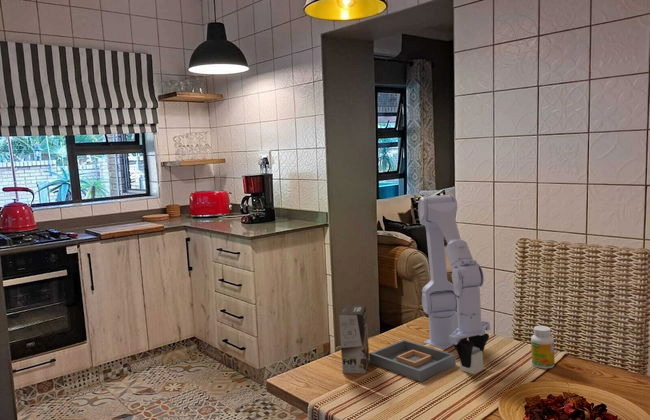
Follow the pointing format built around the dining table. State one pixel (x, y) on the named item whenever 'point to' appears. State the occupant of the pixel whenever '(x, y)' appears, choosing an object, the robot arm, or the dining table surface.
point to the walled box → (388, 360)
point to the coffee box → (354, 339)
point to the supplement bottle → (542, 347)
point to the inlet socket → (413, 352)
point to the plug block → (474, 362)
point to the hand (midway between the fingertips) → (471, 363)
